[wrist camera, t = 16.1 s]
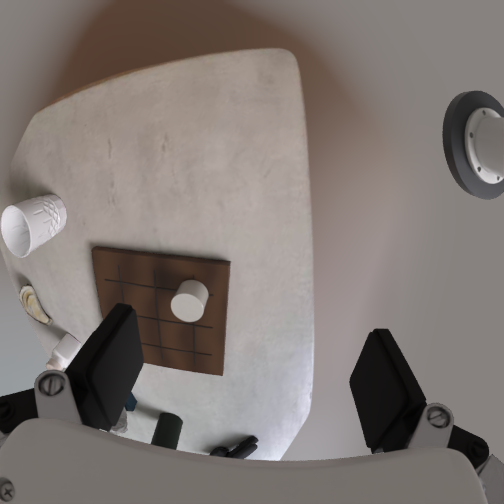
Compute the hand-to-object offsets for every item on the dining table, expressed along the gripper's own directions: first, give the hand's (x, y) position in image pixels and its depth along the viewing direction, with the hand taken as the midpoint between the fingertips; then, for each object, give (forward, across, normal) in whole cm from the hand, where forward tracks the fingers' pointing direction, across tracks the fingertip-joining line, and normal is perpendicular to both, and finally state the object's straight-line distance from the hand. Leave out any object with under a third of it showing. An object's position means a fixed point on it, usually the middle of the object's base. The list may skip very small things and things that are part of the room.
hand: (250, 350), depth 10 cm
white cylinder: (+27, +8, +14) cm, 31 cm away
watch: (+28, +26, +46) cm, 60 cm away
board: (+28, +14, +20) cm, 37 cm away
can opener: (+28, -1, +62) cm, 68 cm away
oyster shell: (+28, +43, +23) cm, 56 cm away
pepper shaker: (+28, +36, +32) cm, 56 cm away
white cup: (+28, +34, +4) cm, 45 cm away
